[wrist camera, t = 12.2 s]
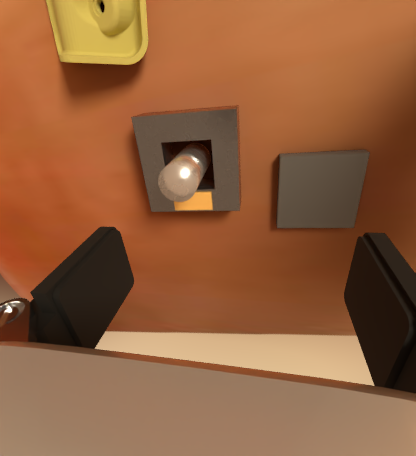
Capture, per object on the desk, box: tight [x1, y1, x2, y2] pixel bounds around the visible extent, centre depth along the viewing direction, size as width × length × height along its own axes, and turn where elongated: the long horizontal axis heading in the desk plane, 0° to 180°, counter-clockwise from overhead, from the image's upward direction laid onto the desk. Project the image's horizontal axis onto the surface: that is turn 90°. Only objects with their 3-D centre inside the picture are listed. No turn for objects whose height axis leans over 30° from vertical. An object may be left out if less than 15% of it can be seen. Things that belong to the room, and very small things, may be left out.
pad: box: [276, 150, 370, 228], centre depth 34 cm, size 10×10×2 cm
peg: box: [158, 143, 211, 202], centre depth 31 cm, size 4×4×10 cm
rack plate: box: [131, 105, 241, 212], centre depth 33 cm, size 12×12×4 cm
